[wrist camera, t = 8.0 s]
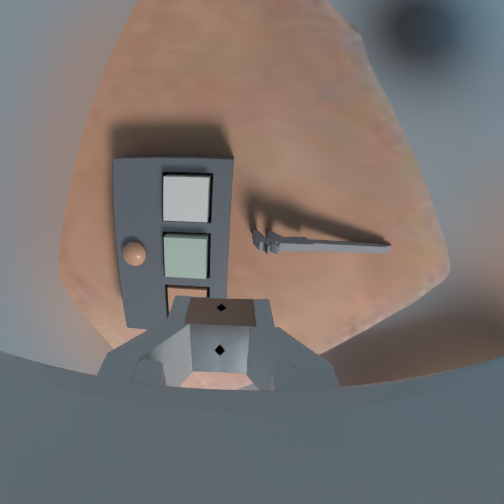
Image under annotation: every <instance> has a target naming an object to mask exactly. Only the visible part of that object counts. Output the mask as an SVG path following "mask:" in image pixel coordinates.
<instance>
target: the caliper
mask: <svg viewBox="0 0 504 504" xmlns="http://www.w3.org/2000/svg"><path fill="white" fill-rule="evenodd" d="M252 239H253V244H254V245H255V246H256V247H257V248H258V249H259V250H264V251H265V252H266V253H267V254H269V250H270V251H271V252H273V253H275V254H278V251H295V252H313V251H332V252H358V253H385V254H386V252H390V249H391V245H384V244H377V243H364V242H346V241H329V240H310V239H307V238H306V237H282V236H280V235H278V234H276V233H274V232H272V231H270V230H267V231H266V237H264V236H263V235H262V234H261V233H260V232H259V231H258V230H257V229H253V236H252Z"/></svg>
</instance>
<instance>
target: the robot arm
mask: <svg viewBox="0 0 504 504" xmlns="http://www.w3.org/2000/svg"><path fill="white" fill-rule="evenodd" d="M192 371H200V372H219V371H220V372H225V373H243V374H247V376H248V377H249V378H250V379H251V381H252V382H253V383H254V384H255V386H256V387H258V389H259V390H260V391H249V390H247V391H246V390H245V391H244V390H217V389H199V388H186V387H179V386H180V385H181V384H182V383H183V382H184V381H185V380H186V379H187V378H188V376H189V375H190V374H191V373H192ZM0 504H504V356H503V357H499V358H496V359H493V360H489V361H486V362H482V363H478V364H475V365H471V366H467V367H463V368H459V369H455V370H450V371H445V372H441V373H436V374H431V375H425V376H420V377H414V378H409V379H403V380H396V381H389V382H383V383H375V384H367V385H358V386H348V387H340V386H339V383H338V381H337V378H336V375H335V373H334V370H333V367H332V365H331V364H330V363H329V362H327V361H326V360H324V359H323V358H322V357H320V356H319V355H317V354H316V353H314V352H313V351H312V350H310V349H309V348H307V347H306V346H305V345H303V344H302V343H300V342H299V341H297V340H296V339H295V338H293V337H292V336H291V335H289V334H288V333H286V332H285V331H284V330H282V329H281V328H279V327H275V326H274V321H273V316H272V311H271V307H270V302H269V300H268V299H222V298H209V297H196V296H192V297H191V296H182V295H176V296H175V298H174V301H173V304H172V307H171V310H170V313H169V316H168V319H167V322H161V323H159V324H157V325H156V326H154V327H152V328H150V329H149V330H147V331H145V332H143V333H142V334H140V335H138V336H137V337H135V338H133V339H131V340H130V341H128V342H126V343H124V344H123V345H121V346H119V347H117V348H116V349H114V350H112V351H111V352H109V353H108V354H107V355H106V358H105V359H104V361H103V363H102V365H101V368H100V370H99V372H98V374H97V376H96V375H91V374H85V373H81V372H76V371H72V370H67V369H63V368H59V367H55V366H50V365H47V364H42V363H39V362H35V361H31V360H28V359H25V358H21V357H18V356H14V355H11V354H8V353H5V352H2V351H0Z"/></svg>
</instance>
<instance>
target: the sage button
mask: <svg viewBox="0 0 504 504" xmlns="http://www.w3.org/2000/svg"><path fill="white" fill-rule="evenodd" d="M208 246H209V233H191V232H167V233H166V235H165V236H164V260H165V277H179V278H197V279H206V277H207V271H208Z"/></svg>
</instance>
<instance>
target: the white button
mask: <svg viewBox="0 0 504 504" xmlns="http://www.w3.org/2000/svg"><path fill="white" fill-rule="evenodd" d="M210 188H211V174H186V173H169V174H167V175H165V176H164V178H163V221H186V222H207V221H208V218H209V213H210Z"/></svg>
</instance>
